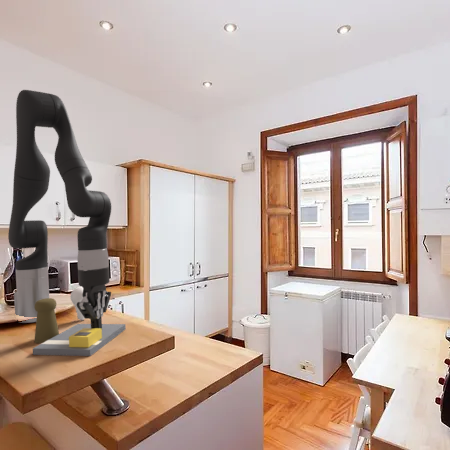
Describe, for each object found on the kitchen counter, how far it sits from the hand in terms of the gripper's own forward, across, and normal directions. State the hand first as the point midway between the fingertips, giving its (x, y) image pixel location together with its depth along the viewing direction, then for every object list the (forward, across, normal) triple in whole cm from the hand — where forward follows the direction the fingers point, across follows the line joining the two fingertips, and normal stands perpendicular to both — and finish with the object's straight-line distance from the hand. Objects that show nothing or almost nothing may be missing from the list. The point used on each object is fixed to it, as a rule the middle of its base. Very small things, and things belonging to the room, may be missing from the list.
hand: (96, 332), depth 82 cm
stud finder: (+1, +5, 0) cm, 5 cm away
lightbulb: (+3, -17, -16) cm, 24 cm away
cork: (+3, -1, -16) cm, 16 cm away
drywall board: (+2, 0, -4) cm, 5 cm away
